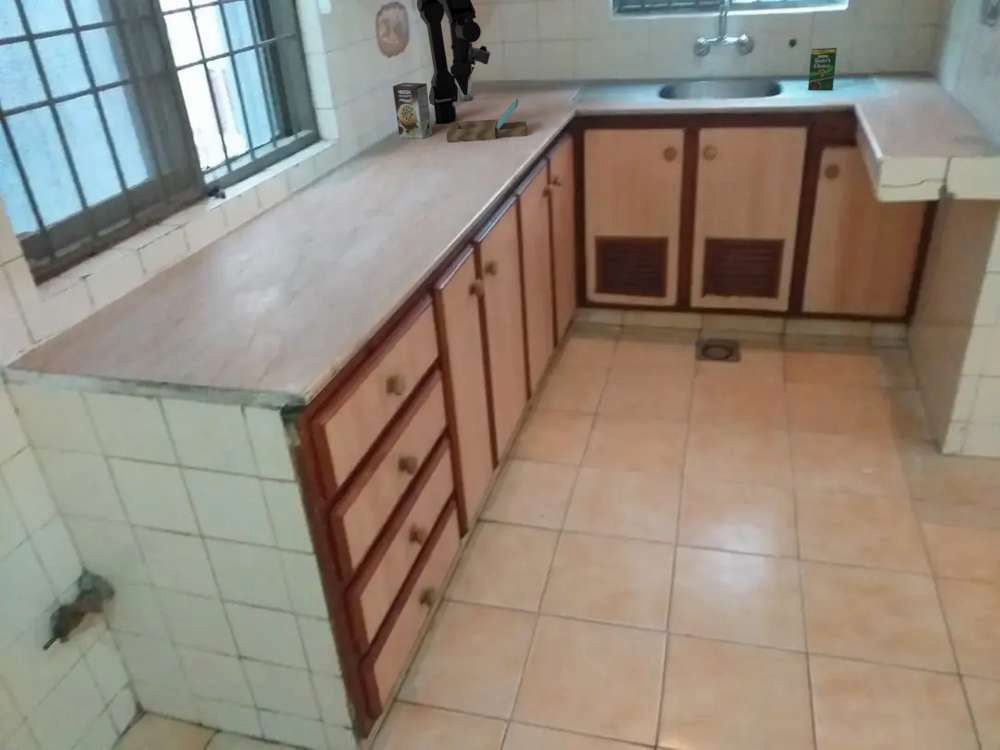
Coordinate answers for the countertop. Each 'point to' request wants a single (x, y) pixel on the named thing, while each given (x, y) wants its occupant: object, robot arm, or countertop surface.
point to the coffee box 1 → (412, 110)
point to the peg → (470, 92)
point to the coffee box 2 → (822, 69)
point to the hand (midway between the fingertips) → (466, 93)
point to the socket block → (484, 130)
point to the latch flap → (507, 114)
